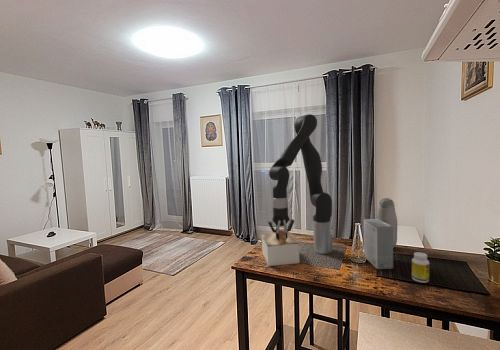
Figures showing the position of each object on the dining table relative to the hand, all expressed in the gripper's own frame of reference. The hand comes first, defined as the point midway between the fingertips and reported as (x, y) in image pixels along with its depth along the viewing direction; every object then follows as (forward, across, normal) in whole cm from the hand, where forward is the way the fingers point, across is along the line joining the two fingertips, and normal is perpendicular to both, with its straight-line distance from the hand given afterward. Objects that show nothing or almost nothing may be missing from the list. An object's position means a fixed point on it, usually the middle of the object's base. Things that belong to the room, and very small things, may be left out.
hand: (281, 239), depth 132 cm
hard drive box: (+12, -45, +10) cm, 48 cm away
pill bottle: (+12, -52, +30) cm, 61 cm away
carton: (+12, 0, -6) cm, 14 cm away
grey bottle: (+12, -60, -4) cm, 61 cm away
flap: (+2, 0, -6) cm, 7 cm away
